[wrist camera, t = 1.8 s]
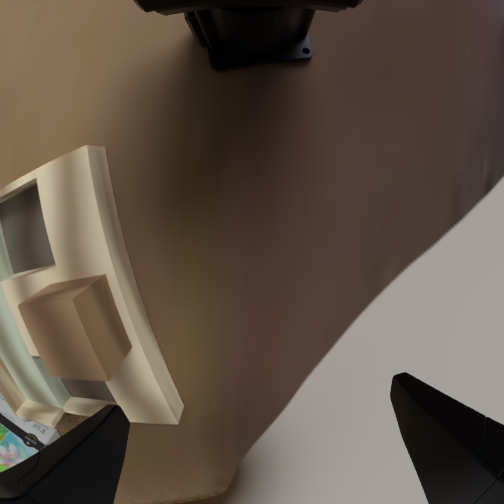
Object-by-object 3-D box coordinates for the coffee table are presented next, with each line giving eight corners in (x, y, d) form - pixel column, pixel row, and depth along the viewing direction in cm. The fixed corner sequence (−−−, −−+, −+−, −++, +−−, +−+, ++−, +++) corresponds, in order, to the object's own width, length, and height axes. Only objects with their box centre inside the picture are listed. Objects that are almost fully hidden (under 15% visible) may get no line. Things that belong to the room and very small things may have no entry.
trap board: (105, 146, 17) (62, 142, 12) (184, 405, 22) (171, 447, 18) (-32, 218, 18) (-64, 228, 13) (35, 391, 24) (15, 415, 19)
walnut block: (105, 274, 17) (72, 298, 13) (132, 346, 18) (109, 381, 14) (50, 283, 17) (17, 305, 13) (77, 348, 18) (51, 376, 15)
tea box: (57, 426, 26) (11, 499, 11) (72, 459, 28) (39, 522, 14) (-12, 380, 25) (-60, 432, 11) (6, 419, 28) (-31, 468, 14)
